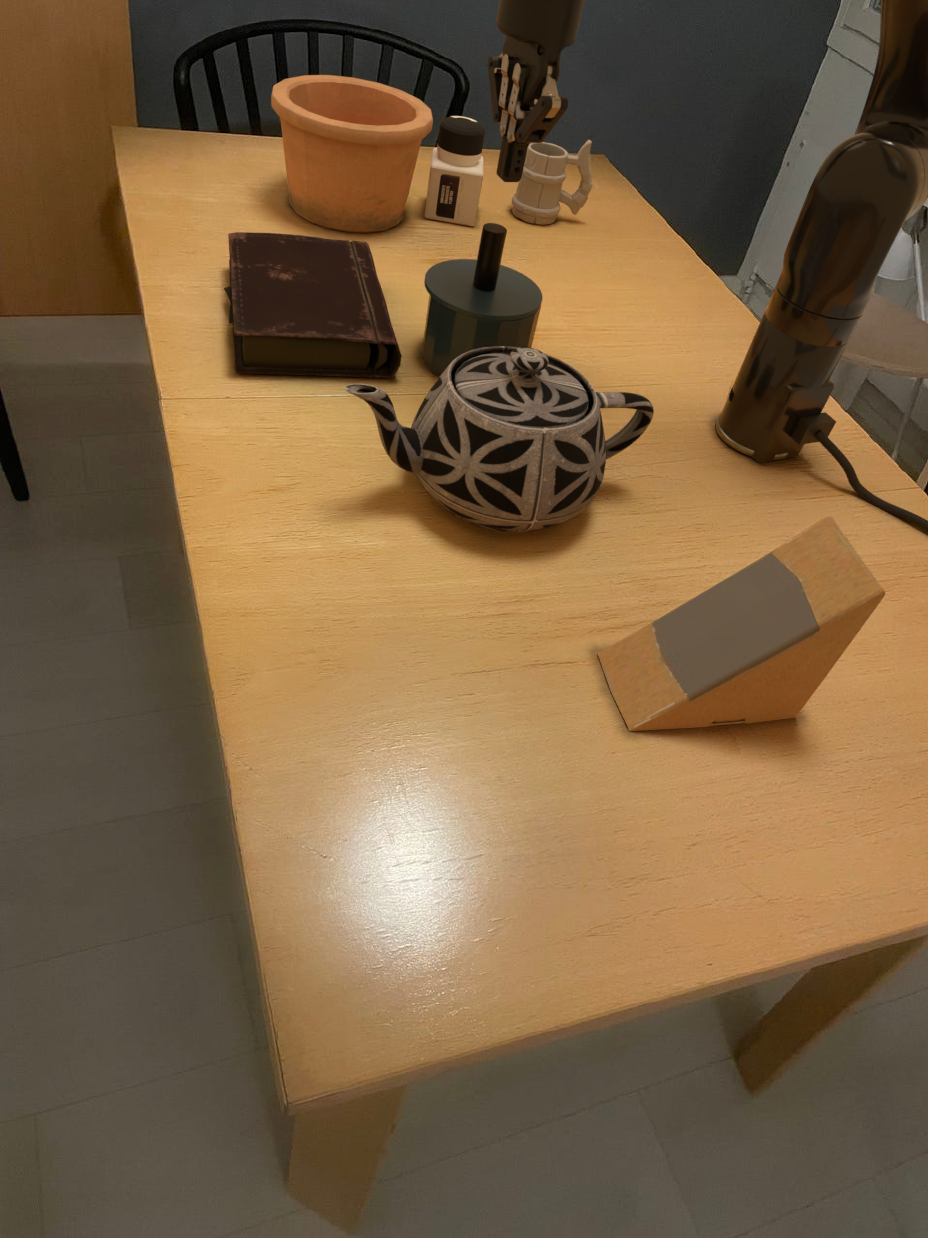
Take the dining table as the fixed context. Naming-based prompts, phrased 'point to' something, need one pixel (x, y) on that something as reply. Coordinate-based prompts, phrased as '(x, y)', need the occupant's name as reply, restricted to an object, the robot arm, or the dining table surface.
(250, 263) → the diary
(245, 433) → the dining table surface
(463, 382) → the teapot
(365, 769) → the dining table surface
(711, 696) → the sandwich container
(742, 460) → the dining table surface
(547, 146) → the mug
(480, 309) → the lid
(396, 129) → the pottery
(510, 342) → the pot
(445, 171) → the container
